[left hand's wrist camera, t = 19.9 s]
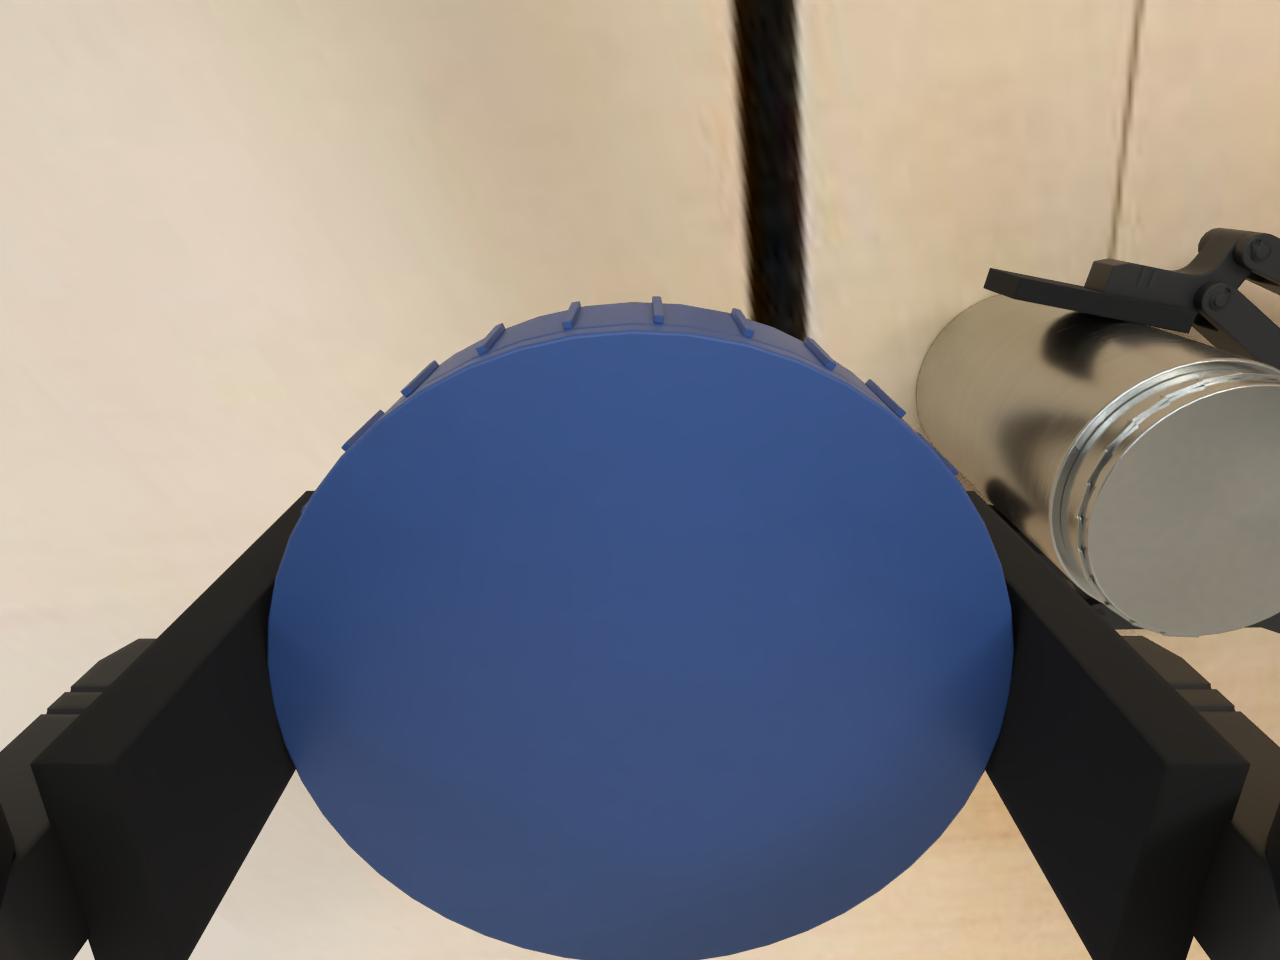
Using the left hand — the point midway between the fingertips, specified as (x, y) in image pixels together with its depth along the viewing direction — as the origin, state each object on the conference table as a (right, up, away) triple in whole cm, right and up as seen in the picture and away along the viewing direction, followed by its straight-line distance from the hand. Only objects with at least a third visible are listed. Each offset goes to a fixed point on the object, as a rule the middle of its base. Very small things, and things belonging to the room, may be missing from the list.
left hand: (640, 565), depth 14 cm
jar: (+17, +6, +24) cm, 30 cm away
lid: (0, -1, -3) cm, 3 cm away
